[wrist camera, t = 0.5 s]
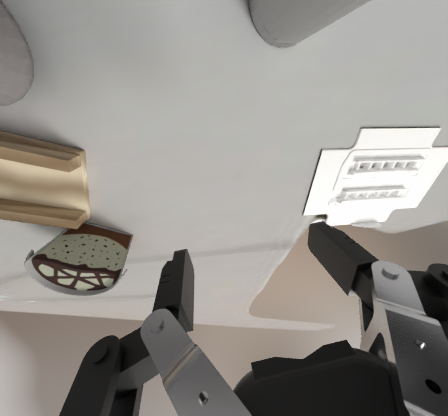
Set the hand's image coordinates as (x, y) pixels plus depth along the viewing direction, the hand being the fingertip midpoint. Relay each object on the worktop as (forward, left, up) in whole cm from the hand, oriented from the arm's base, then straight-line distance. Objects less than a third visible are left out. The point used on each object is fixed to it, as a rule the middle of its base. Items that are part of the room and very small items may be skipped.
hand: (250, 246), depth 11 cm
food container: (+21, -17, -21) cm, 34 cm away
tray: (-4, +32, -22) cm, 39 cm away
